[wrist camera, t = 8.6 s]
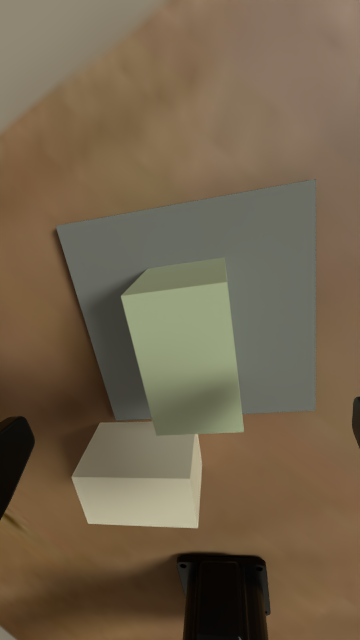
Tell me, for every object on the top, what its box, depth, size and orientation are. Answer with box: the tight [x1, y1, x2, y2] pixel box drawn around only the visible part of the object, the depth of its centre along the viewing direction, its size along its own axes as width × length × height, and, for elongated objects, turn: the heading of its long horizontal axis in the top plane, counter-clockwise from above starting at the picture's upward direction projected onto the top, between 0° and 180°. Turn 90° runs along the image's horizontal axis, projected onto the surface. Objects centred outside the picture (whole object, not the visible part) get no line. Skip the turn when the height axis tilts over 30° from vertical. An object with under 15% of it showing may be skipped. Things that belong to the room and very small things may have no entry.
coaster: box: [56, 179, 316, 421], centre depth 15 cm, size 11×11×1 cm
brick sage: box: [121, 257, 244, 436], centre depth 12 cm, size 6×4×4 cm, turn 10°
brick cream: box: [71, 422, 202, 528], centre depth 17 cm, size 6×4×4 cm, turn 97°
